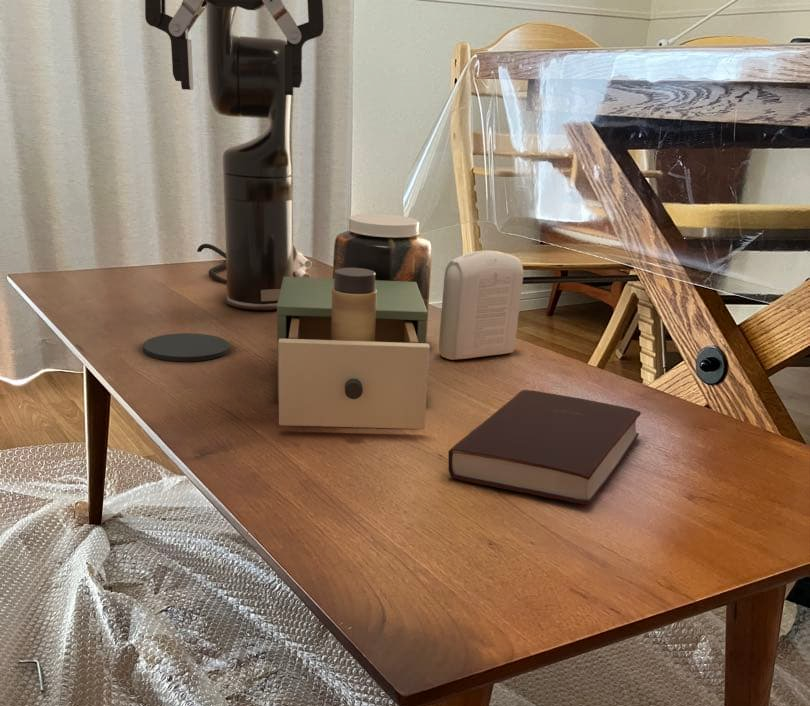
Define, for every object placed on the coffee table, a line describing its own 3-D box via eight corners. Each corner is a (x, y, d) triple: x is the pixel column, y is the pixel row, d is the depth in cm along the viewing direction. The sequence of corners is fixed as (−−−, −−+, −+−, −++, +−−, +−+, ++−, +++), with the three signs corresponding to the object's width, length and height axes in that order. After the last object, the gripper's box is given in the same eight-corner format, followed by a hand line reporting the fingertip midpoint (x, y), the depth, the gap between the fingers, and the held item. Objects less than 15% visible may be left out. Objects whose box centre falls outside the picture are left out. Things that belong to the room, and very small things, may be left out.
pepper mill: (330, 388, 91) (332, 266, 86) (371, 390, 92) (376, 268, 86) (330, 402, 88) (332, 275, 82) (373, 403, 88) (378, 277, 83)
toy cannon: (278, 276, 155) (300, 253, 154) (297, 295, 143) (321, 270, 143) (244, 241, 150) (267, 218, 150) (261, 258, 139) (286, 233, 138)
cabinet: (421, 406, 95) (427, 311, 90) (277, 402, 93) (276, 306, 89) (411, 366, 107) (416, 281, 102) (284, 362, 105) (283, 276, 101)
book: (444, 478, 78) (447, 443, 77) (518, 413, 94) (521, 383, 92) (586, 512, 74) (592, 475, 72) (638, 438, 90) (644, 407, 88)
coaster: (151, 336, 112) (150, 331, 112) (233, 339, 113) (233, 334, 113) (135, 360, 103) (135, 355, 103) (225, 363, 104) (225, 358, 104)
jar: (332, 356, 109) (335, 224, 102) (330, 330, 119) (332, 209, 112) (430, 359, 110) (439, 229, 103) (420, 333, 120) (427, 213, 113)
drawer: (425, 434, 85) (431, 350, 81) (278, 430, 84) (277, 345, 80) (413, 387, 97) (418, 312, 93) (285, 383, 96) (284, 307, 92)
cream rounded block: (498, 345, 117) (508, 245, 111) (519, 354, 114) (531, 252, 108) (432, 354, 112) (439, 250, 106) (453, 363, 109) (461, 257, 103)
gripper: (326, -128, 73) (323, 95, 81) (146, -142, 72) (160, 86, 80) (325, -147, 67) (322, 98, 74) (126, -163, 66) (144, 88, 73)
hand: (238, 92), depth 77 cm, fingers open, 8 cm apart
